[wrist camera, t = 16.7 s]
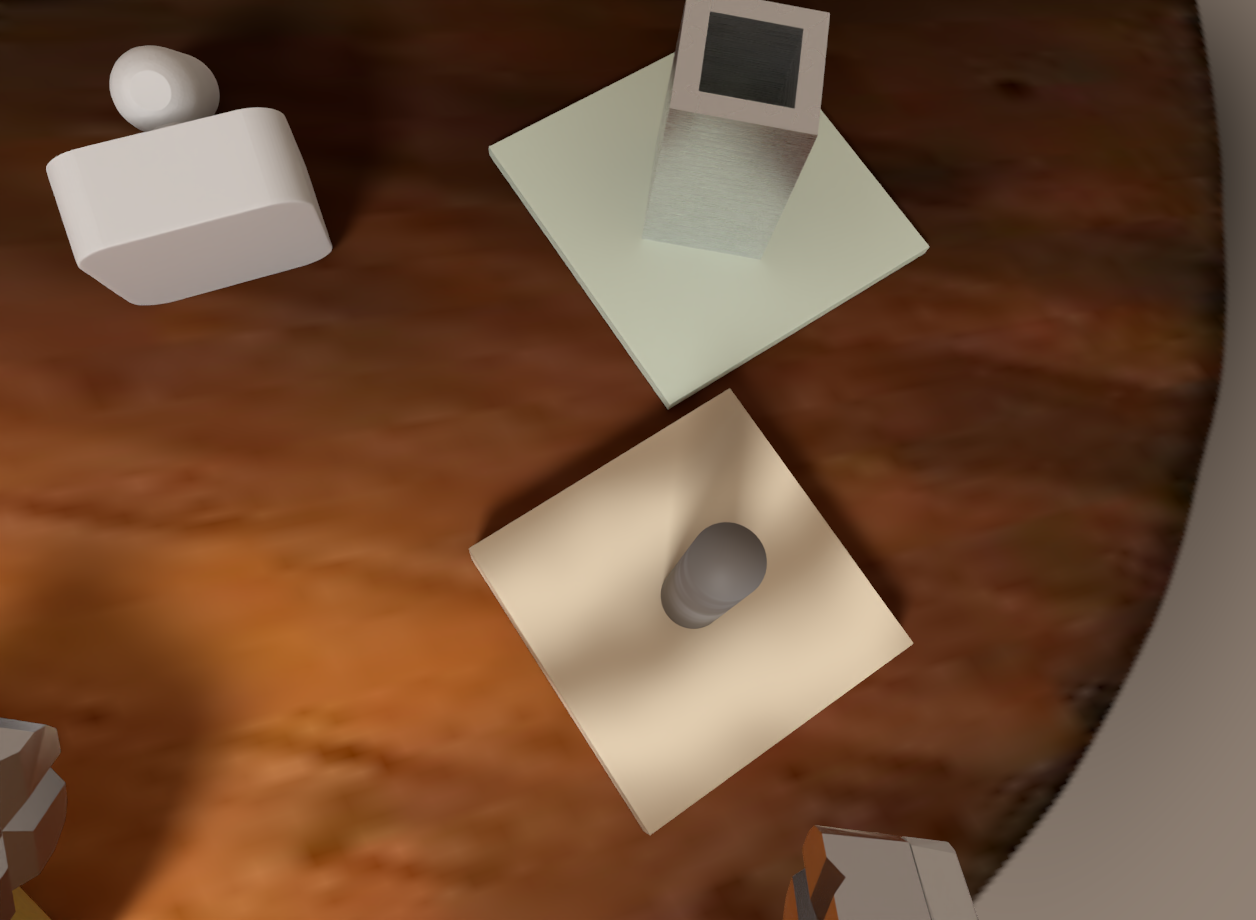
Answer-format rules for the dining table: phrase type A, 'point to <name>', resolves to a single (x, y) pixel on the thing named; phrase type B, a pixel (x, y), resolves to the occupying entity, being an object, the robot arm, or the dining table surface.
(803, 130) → the steel sleeve
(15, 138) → the dining table surface
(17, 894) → the flower pot
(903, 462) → the dining table surface
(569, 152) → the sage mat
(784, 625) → the peg stand
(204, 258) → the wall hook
